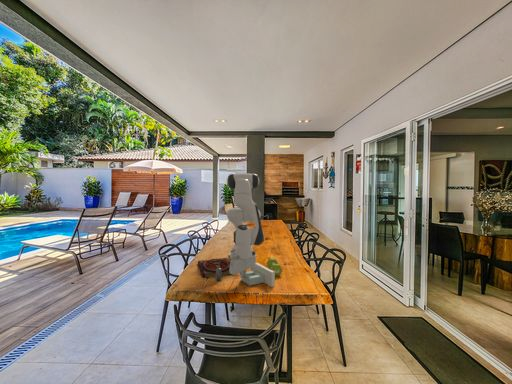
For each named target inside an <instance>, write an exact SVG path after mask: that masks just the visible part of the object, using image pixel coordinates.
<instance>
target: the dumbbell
mask: <svg viewBox="0 0 512 384" xmlns="http://www.w3.org/2000/svg"><path fill="white" fill-rule="evenodd" d="M266 267H267V268H268V269H270V270H272V271H274V272H275V277H280V275H282V273H283V267H282V266H281V265H280V264H279V262H278V260H277V259H276V258H274V257H271V258H269V259H268V260H267V261H266Z"/></svg>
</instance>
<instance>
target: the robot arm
mask: <svg viewBox="0 0 512 384" xmlns="http://www.w3.org/2000/svg"><path fill="white" fill-rule="evenodd" d="M226 185H227V186H228V188H229V189H230V190H234V191H233V192H234V193H233V194H234V195H233V198H234V204H235V206H236V207H232V208H229V209H228V210H227V213H226V218H227V220H228V221H230V222H231V223H232V225H233V226H234V228H235V231H234V232H233V243H234V245H233V246H232V247H231V249H230V253H227V254H228V255H227V256H228V257H229V258H230V259H231V260H230V268H229V273H230V274H232V275H233V276H235V275H237V274H239V275H240V279H241V278H242V279H243V278H245V274H246V272H248V271H247V270H250V268H251V267H254V266H255V264H256V260H257V259H256V255H257V252H256V250H254V248H253V246H258V247H259V246H261V245H263V243H264V241H265V233H264V231H263V226H262V221H261V216H262V213H261V211H260V210H259V207H258V205H257V203H256V202H254V201H253V196H252V195H253V194H252V189H253V190H254V189H257V188H258V187H259V185H260V178H259V176H258V174H256V173H248V172H244V173H230V174H229V175H228V176H227V178H226ZM244 223H254V228H250V226H249V225H246V224H244Z"/></svg>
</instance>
